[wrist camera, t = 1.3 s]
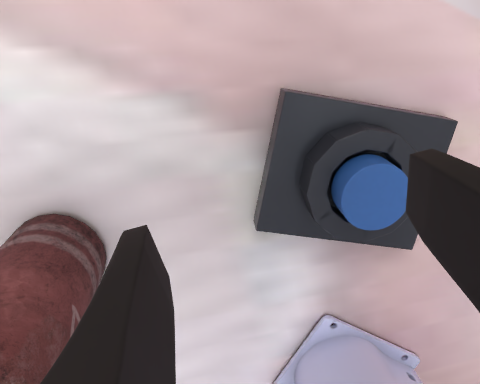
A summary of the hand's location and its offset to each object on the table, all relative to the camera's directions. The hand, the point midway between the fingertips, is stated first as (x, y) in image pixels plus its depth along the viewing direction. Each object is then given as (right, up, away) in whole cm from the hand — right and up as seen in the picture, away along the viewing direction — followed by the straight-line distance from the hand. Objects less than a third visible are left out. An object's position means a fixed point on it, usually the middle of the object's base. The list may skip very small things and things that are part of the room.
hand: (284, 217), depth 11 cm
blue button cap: (+6, +1, +14) cm, 15 cm away
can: (-13, -3, +17) cm, 22 cm away
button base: (+6, +2, +17) cm, 18 cm away
